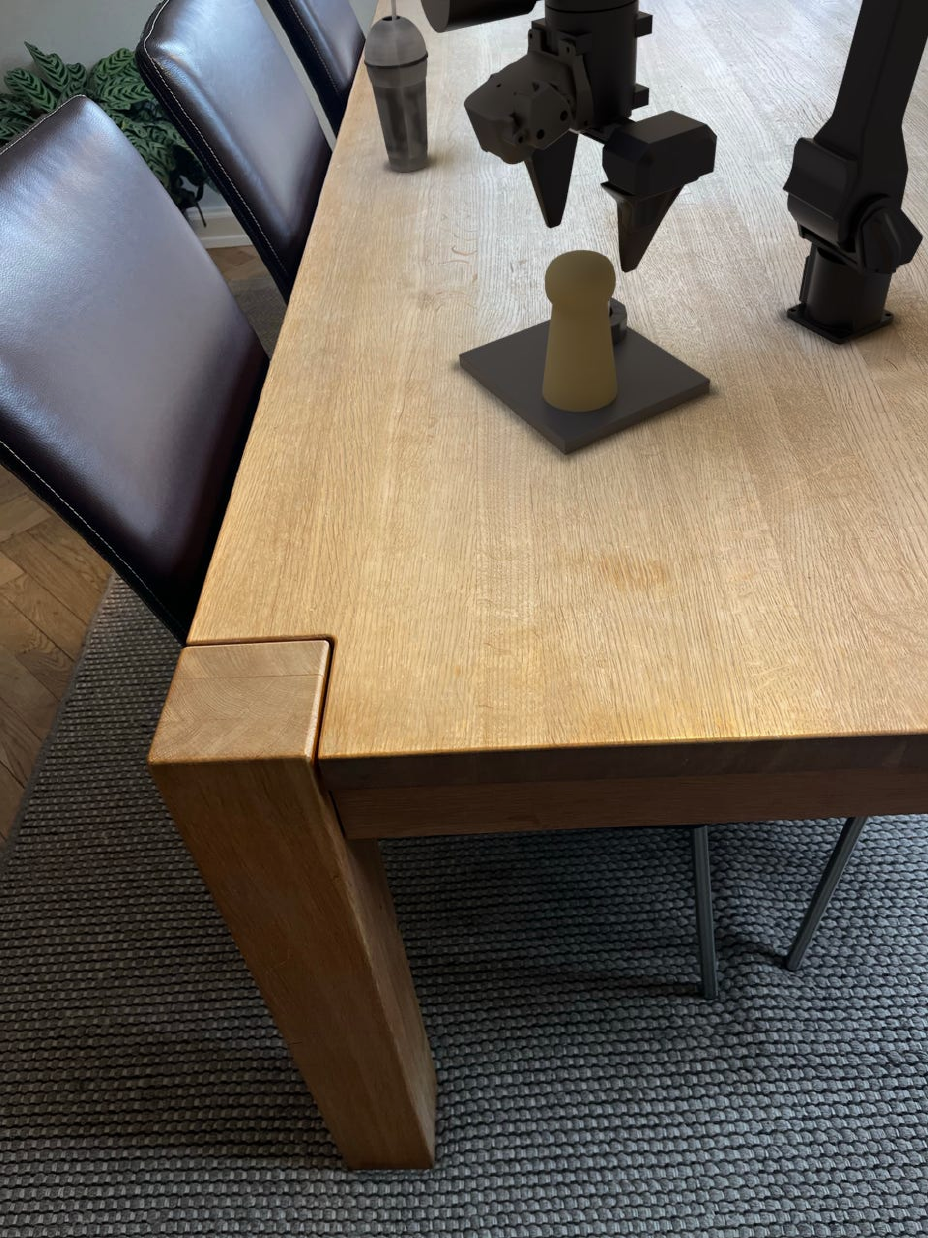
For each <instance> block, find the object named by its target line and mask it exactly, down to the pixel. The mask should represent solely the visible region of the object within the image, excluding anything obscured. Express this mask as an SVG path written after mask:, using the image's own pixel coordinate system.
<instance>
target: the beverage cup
mask: <svg viewBox="0 0 928 1238" xmlns="http://www.w3.org/2000/svg"><path fill="white" fill-rule="evenodd" d="M390 6H391V7H390V8H391V14H390V15H386V16H382V18H380V19H378V20H377V21H376V22H375V23H374V24H373V25H372V26H371V28H370V29H369V31H368V33H367V36H366V39H365V44H364V59H363V64H364V65H365V68H366V73H367V76H368V79H369V82H370V84H371V86H372V91H373V95H374V100H375V105H376V110H377V114H378V119H379V123H380V129H381V132H382V138H383V141H384V145H385V151H386V154H387V158H388V161H389V166H390V168H391V169H392V170H393V171H395V172H399V173H408V172H410V173H411V172H415V171H419V170H422V169H424V168H425V167H427V165H428V164H429V163H428V162H429V160H428V151H429V138H428V137H429V136H428V105H427V103H428V102H427V99H428V98H427V75H428V58H429V52H428V49H427V45H426V42H425V41H426V40H425V38H424V36H423V34H422V32H421V31H420V29H419V28H418V26H417V25H416V24H414V22H413V21H411V20H410V19H409V18H407V17H405V16H401V15H398V14H397V1H396V0H390Z"/></svg>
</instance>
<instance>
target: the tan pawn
mask: <svg viewBox="0 0 928 1238" xmlns="http://www.w3.org/2000/svg"><path fill="white" fill-rule="evenodd" d="M616 283H617V276H616V270H615V266H614V264H613V263H612V261H611V260H610V258H608V256H606V255H605V254H603V253H600V252H598V251H594V250H589V249H575V250H569V251H566V252H564V253H562V254H559V255H557V256H555V257H554V258H553V259H552V260H551V262H550V263H549V264H548V266H547V268H546V270H545V273H544V291H545V295H546V298H547V299H548V301H549V302H550V303H551V304H552V305H551V313H550V314H551V315H550V319H551V321H550V329H549V337H548V346H547V354H546V363H545V371H544V380H543V388H542V393H543V397H544V399H545V400H546V402H547V403H549V404H550V405H552V406H553V407H555V408H558V409H561V410H564V411H571V412H587V411H592V410H596V409H600V408H602V407H604V406H606V405H608V404H609V403H610V402H612V401H613V400H614V399H615V397H616V395H617V393H618V387H617V379H616V370H615V362H614V353H613V344H612V336H611V327H610V319H609V310H608V302H609V300H610V299H611V297H612V298H613V295H614V292H615V290H616V286H617V284H616Z"/></svg>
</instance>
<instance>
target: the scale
mask: <svg viewBox="0 0 928 1238" xmlns="http://www.w3.org/2000/svg"><path fill="white" fill-rule="evenodd" d="M609 319H610V327H611V336H612V344H613V353H614V362H615V370H616V379H617V387H618V393H617V395H616V397H615V399H614V400H613V401H612V402H610V403H609V404H608V405H606V406H604V407H602V408H600V409H596V410H592V411H587V412H571V411H564V410H561V409H558V408H555V407H553V406H552V405H550V404H549V403H547V402H546V400H545V399H544V397H543V393H542V388H543V380H544V371H545V363H546V354H547V346H548V337H549V329H550V321H551V318H550V319H548V320H544V321H542V322H539V323H537V324H534V325H532V326H528V327H527V328H524V329H521V330H519V331H515V332H514V333H511V334H508V335H506V336H503V337H501V338H498V339H495V340H493V341H490V342H487V343H485V344H483V345H480V346H477V347H475V348H471V349H470V350H467V351H464V352H462V353H459V354H458V360H459V366H460V368H462V369H463V370H464V371H465V372H466V373H468V374H469V376H471V377H472V378H474V380H476V381H477V382H479V384H480V385H481V386H483V387H484V388H485V389H486V390H488V392H490V393H491V394H492V395H494V396H495V397H496V398H497V399H498V400H500V402H502V404H504V405H505V406H506V407H507V408H509V409H510V410H511V411H512V412H514V413H515V414H516V415H517V416H518V417H519V418H521V419H522V420H523V421H524V422H526V424H528V425H529V426H530V427H531V428H533V429H534V430H535V431H536V432H537V433H539V434H540V435H541V436H542V437H543V438H544V439H545V440H546V441H548V442H549V443H550V444H551V445H553V446H554V447H555V448H556V449H557V450H559V451H560V452H561V453H562V454H563V455H564V456H566V455H568V454H571V453H573V452H575V451H577V450H580V449H582V448H584V447H587V446H590V445H592V444H594V443H596V442H598V441H600V440H603V439H605V438H607V437H610V436H612V435H614V434H617V433H619V432H621V431H623V430H626V429H628V428H630V427H632V426H635V425H637V424H640V423H642V422H644V421H646V420H649V419H651V418H653V417H656V416H658V415H660V414H663V413H664V412H667V411H670V410H672V409H674V408H676V407H678V406H680V405H683V404H685V403H688V402H689V401H692V400H694V399H696V398H699V397H701V396H703V395H705V394H708V393H709V392H710V386H711V379H710V378H708V377H707V376H705V375H704V374H702V373H701V372H699V371H697V370H696V369H695V368H693V367H692V366H690V365H688V364H687V363H685V362H684V361H682V360H681V359H680V358H678V357H676V356H675V355H673V354H671V353H670V352H669V351H667V350H665V349H664V348H663V347H661V346H659V345H658V344H656V343H655V342H653V341H651V340H650V339H649V338H647V337H646V336H644V335H643V334H641V333H639V332H638V331H636V330H635V329H633V328H632V327H630V326H629V325H628V311H627V307H626V305H625V304H624V303H623V302H621V301H620V300H618V299H616V298H614V297H613V296H612V297H611V299H610V305H609Z"/></svg>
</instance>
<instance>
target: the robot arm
mask: <svg viewBox="0 0 928 1238" xmlns="http://www.w3.org/2000/svg"><path fill="white" fill-rule="evenodd" d="M541 1H542V0H420V4H421V7H422V9H423V13H424V15H425V18H426V20H427V23H429V25H430V27H431V28H432V30H433V31H434V32H436V33H437V34H443V33H447V32H453V31H457V30H461V29H466V28H470V27H474V26H475V27H476V26H480V25H485V24H489V23H493V22H498V21H502V20H508V19H512V18H516V17H522V16H526V15H529V14H530V13H531V12H533V11H534V8H535V7H536V5H537V2H541ZM543 1H544V17H540V18H537V19H533V20H531V21H530V26H531V27H530V28H529V29H528V31H527V49H526V53H525V55H523V56H522V57H520V58H519V59H517V60H516V61H513V62H510V63H509V64H507V65H505V66H504V67H503V68H502V69H500V70H499V71H497V72H494V73H491V74H490V75H489V77H488V79H487V81H485V82H484V83H483V84H481V85H480V86H479V87H477V88H476V89H474V90H473V91H472V92H471V93H470V94H468V95H467V96H466V98H465V99H464V101H463V108H464V110H465V112H466V115H467V117H468V119H469V122H470V124H471V126H472V130H473V132H474V135H475V136H476V137H475V138H476V140H477V141H478V144H479V147H480V149H481V150H482V151H483V152H484V153H491V154H492V155H494V156H496V157H497V158H500V159H501V161H502V162H503V163H505V164H507V165H518V164H521V163H524V166H525V168H526V171H527V174H528V176H529V179H530V182H531V186H532V188H533V191H534V193H535V197H536V200H537V204H538V206H539V209H540V212H541V215H542V218H543V221H544V224H545V226H546V227H547V228H548V229H554V228H557V227H560V226H561V224H562V222H563V218H564V213H565V210H566V206H567V200H568V196H569V189H570V186H571V179H572V173H573V169H574V163H575V159H576V158H575V157H576V152H577V146H578V141H579V135H581V136H583V137H587V138H588V139H591V140H593V141H594V142H597V143H598V144H601V145H603V146H602V148H601V149H602V150H601V167H602V169H603V172H604V173H605V176H606V179H607V180H605V181H603V182H600V187H601V188H602V189H603V191H605V192H606V193H607V194H608V195H609V196H610V197H611V198H612V199H613V200H614V202H615V204H616V218H617V219H616V220H617V221H616V222H617V240H618V241H617V242H618V257H619V264H620V270H621V271H622V272H623V273H625V274H627V273H629V272H631V271H632V272H633V271H635V270H637V268H638V267H639V265H640V263H641V261H642V259H643V257H644V256H645V253H646V252H647V250H648V248H649V246H650V244H651V242H652V241H653V239H654V237H655V235H656V234H657V232H658V229H659V228H660V226H661V224H662V222H663V220H664V218H665V217H666V216H667V214H668V211H669V210H670V208H671V207H672V205H673V204H674V203H675V201H676V199H677V198H678V197H679V195H680V194H681V192H682V191H683V189H684V188H685V186H686V185H689V184H692V183H694V182H696V181H698V180H699V179H700V178H701V177H704V176H707V175H708V174H709V175H710V174H712V173H714V172H715V165H716V155H717V154H716V153H717V143H718V135H717V134H716V133H715V132H714V131H713V129H712V128H711V127H710V126H709V125H708V124H707V123H705V122H703V121H700V120H697V119H696V118H692V117H690V116H688V115H685V114H682V113H680V112H677V111H675V110H673V109H670V110H667V111H665V112H661V113H658V114H655V115H652V116H650V117H645V118H643V119H640V120H637V121H636V120H633V119H631V117H632V116H633V111H635V110H636V109H640V108H643V107H647V106H649V105H650V87H647V86H646V85H643V84H640V83H638V82H637V63H638V62H637V61H638V39H639V38H642V37H645V36H648V35H652V34H653V25H654V24H653V23H654V21H653V19H654V16H653V14H651V13H648V12H645V11H641V10H639V9H640V7H639V6H640V0H543ZM852 35H853V36H852V39H851V43H850V46H849V51H848V54H847V57H846V63H845V65H844V70H843V74H842V78H841V81H840V84H839V89H838V91H837V97H836V101H835V104H834V108H833V111H832V113H831V115H830V117H829V118H828V119H827V120H826V122H825V123H824V124H823V125H822V126H820V128H819V130H818V131H817V132H816V133H815V135H814V136H813V137H804V136H800V137H799V138H798V139H797V140H796V142H795V144H794V147H793V154H792V163H791V167H790V170H789V174H788V177H787V179H786V181H785V182H784V184H783V186H782V190H783V191H784V192H786V193H787V200H786V205H787V206H786V207H787V211H788V212H789V213H790V216H791V218H793V220H794V221H795V222H796V226H797V232H798V237H800V238H802V239H803V240H807V241H808V242H809V243H811V244H810V249H809V254H808V255H807V256H806V257H805V259H804V260H805V261H804V266H803V273H802V277H801V283H800V288H799V295H798V301H799V302H800V303H798V304H796V305H793V306H791V307H789V308H787V309H786V314H785V315H786V316H787V317H788V318H790V319H792V320H793V321H794V322H797V323H799V324H800V325H802V326H804V327H806V328H808V329H809V330H811V331H812V332H813V331H814V332H816V333H817V334H819V335H820V336H823V337H824V338H826V339H828V340H830V341H832V342H833V343H835V344H844V343H847V342H849V341H851V340H854V339H856V338H858V337H860V336H862V335H864V334H867V333H869V332H871V331H874V330H876V329H879V328H881V327H884V326H886V325H887V324H890V323H892V322H893V321H894V319H895V314H894V313H893V312H891V311H889V310H887V309H885V306H886V302H887V299H888V294H889V290H890V286H891V281H892V278H893V274H896V273H897V269H898V268H900V267H901V266H904V265H909V264H910V263H911V262H912V261H913V259H914V257H915V256H916V253H917V251H918V250H919V248H920V246H921V244H922V242H923V239H924V235H923V234H922V233H921V232H920V230H919V229H918V228H917V226H916V225H915V224H914V223H913V222H912V221H911V219H910V218H909V216H908V215H907V214H906V212H904V210H903V209H902V206H903V202H904V196H905V190H906V186H907V182H908V181H907V180H908V174H909V162H908V157H907V150H906V143H905V137H904V132H903V123H904V122H903V121H904V117H905V114H906V110H907V107H908V104H909V100H910V97H911V94H912V91H913V87H914V84H915V81H916V78H917V74H918V71H919V67H920V64H921V61H922V58H923V55H924V51H925V48H926V45H927V43H928V0H862V1H861V4H860V8H859V12H858V16H857V20H856V24H855V28H854V31H853V34H852Z"/></svg>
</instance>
